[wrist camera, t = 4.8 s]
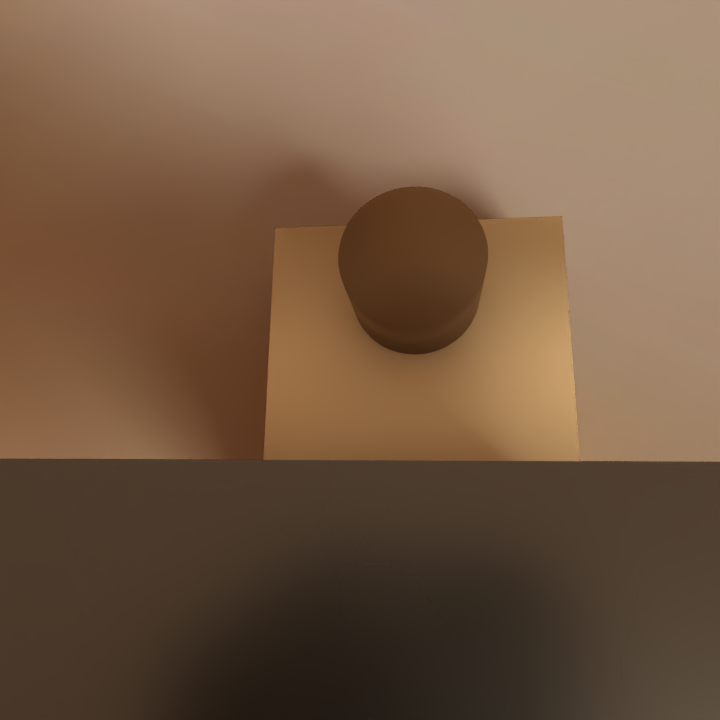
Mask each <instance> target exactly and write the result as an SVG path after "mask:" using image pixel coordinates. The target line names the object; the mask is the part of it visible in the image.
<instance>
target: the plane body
mask: <svg viewBox="0 0 720 720" xmlns="http://www.w3.org/2000/svg"><path fill="white" fill-rule="evenodd" d="M264 460H408V461H580V456H579V442H578V428H577V414H576V400H575V387H574V373H573V359H572V345H571V331H570V317H569V303H568V290H567V276H566V262H565V248H564V234H563V220H562V216H552V217H528V218H504V219H481V220H478V219H477V217H476V216H475V215H474V213H473V212H472V211H471V210H470V209H469V208H468V207H467V206H466V205H465V204H464V203H462V202H461V201H460V200H458V199H457V198H455V197H453V196H451V195H449V194H447V193H445V192H442V191H440V190H436V189H432V188H425V187H406V188H399V189H395V190H391V191H389V192H386V193H383V194H381V195H379V196H377V197H375V198H374V199H372V200H371V201H369V202H367V203H366V204H365V205H364V206H363V207H362V208H360V209H359V210H358V212H357V213H356V214H355V215H354V216H353V217H352V219H351V220H350V222H349V223H348V225H338V226H314V227H290V228H275V240H274V260H273V281H272V301H271V321H270V341H269V361H268V381H267V401H266V421H265V441H264Z"/></svg>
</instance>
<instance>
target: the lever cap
mask: <svg viewBox="0 0 720 720" xmlns="http://www.w3.org/2000/svg"><path fill="white" fill-rule="evenodd" d="M0 720H720V462H632V461H408V460H184V459H0Z"/></svg>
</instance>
